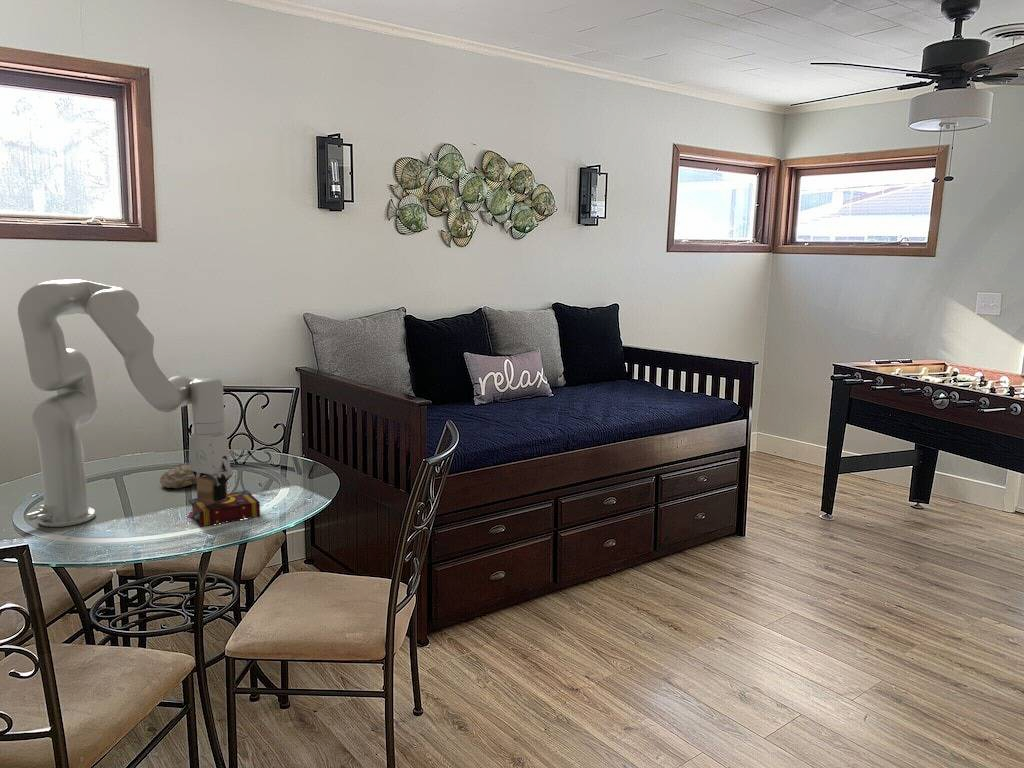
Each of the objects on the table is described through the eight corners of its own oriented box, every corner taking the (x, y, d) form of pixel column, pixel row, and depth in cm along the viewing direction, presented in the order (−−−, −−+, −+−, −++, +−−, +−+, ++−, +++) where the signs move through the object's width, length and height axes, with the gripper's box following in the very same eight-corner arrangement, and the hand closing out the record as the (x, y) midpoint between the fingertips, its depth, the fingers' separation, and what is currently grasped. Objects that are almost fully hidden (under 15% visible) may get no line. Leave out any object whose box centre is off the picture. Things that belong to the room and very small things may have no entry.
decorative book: (261, 518, 203) (260, 499, 202) (195, 529, 194) (194, 510, 193) (248, 505, 212) (247, 488, 211) (184, 516, 203) (183, 498, 202)
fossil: (165, 492, 221) (151, 463, 224) (169, 504, 228) (156, 475, 231) (207, 474, 226) (193, 446, 230) (210, 487, 233) (196, 459, 237)
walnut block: (211, 504, 196) (210, 480, 195) (197, 500, 198) (196, 477, 197) (227, 498, 200) (226, 475, 199) (213, 495, 202) (212, 472, 201)
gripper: (172, 426, 196) (176, 496, 200) (221, 435, 189) (224, 507, 192) (197, 420, 203) (200, 488, 206) (245, 429, 195) (248, 499, 198)
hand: (212, 497), depth 199 cm, fingers closed on walnut block, 4 cm apart
